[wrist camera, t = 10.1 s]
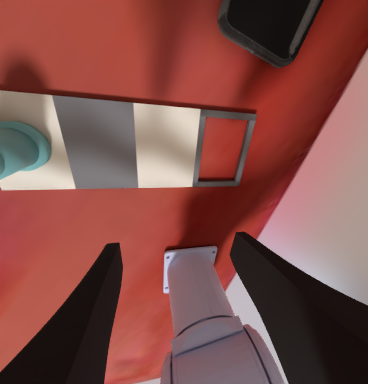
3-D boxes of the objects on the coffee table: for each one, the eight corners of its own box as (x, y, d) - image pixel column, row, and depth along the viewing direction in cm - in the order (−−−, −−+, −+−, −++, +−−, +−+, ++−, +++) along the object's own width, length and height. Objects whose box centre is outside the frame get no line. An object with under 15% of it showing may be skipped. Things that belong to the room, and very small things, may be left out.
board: (237, 184, 20) (238, 186, 19) (5, 188, 15) (2, 190, 14) (254, 114, 16) (257, 114, 16) (-44, 86, 11) (-50, 85, 11)
